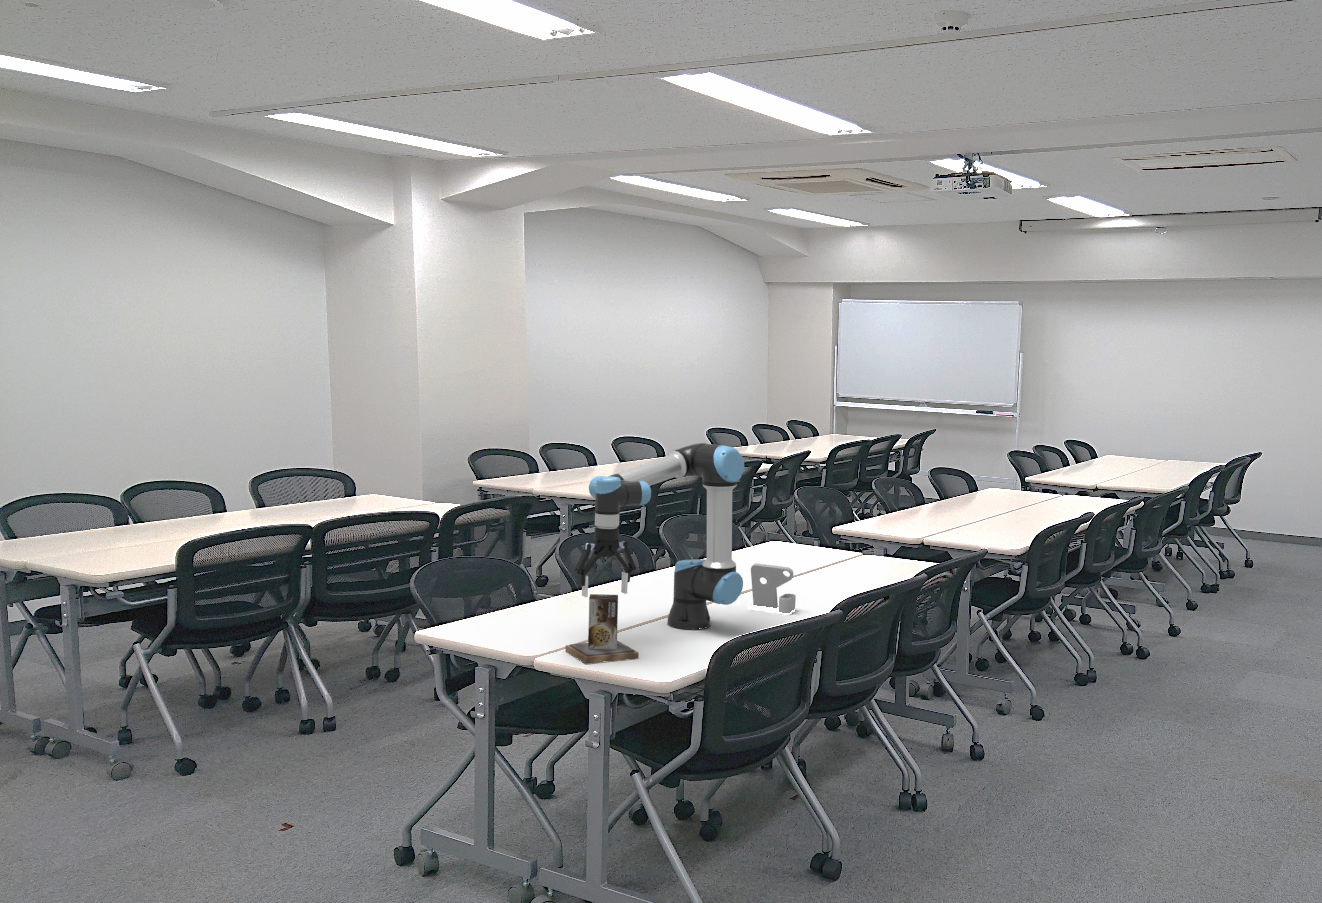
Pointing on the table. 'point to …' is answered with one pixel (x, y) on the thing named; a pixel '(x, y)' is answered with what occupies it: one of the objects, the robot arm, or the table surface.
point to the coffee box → (603, 621)
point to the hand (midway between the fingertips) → (604, 594)
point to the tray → (601, 653)
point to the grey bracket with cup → (771, 587)
